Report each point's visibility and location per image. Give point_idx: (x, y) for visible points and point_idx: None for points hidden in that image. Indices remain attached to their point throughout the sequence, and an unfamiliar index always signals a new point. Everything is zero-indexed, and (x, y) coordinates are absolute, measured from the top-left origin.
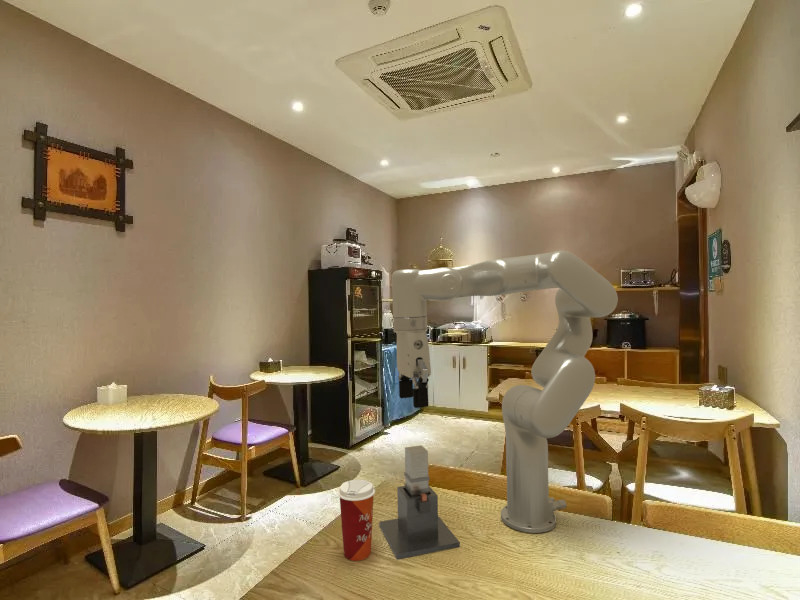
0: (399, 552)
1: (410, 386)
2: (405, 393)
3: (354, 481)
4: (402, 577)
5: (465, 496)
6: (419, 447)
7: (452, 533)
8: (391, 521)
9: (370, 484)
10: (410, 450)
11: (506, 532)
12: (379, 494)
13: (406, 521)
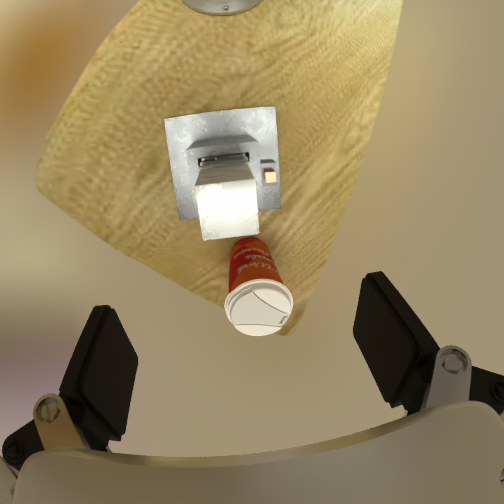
0: (276, 203)
1: (98, 366)
2: (123, 358)
3: (239, 316)
4: (318, 206)
5: (107, 52)
6: (213, 197)
7: (246, 108)
8: (183, 200)
9: (261, 292)
10: (235, 229)
11: (251, 23)
12: (76, 207)
13: None
